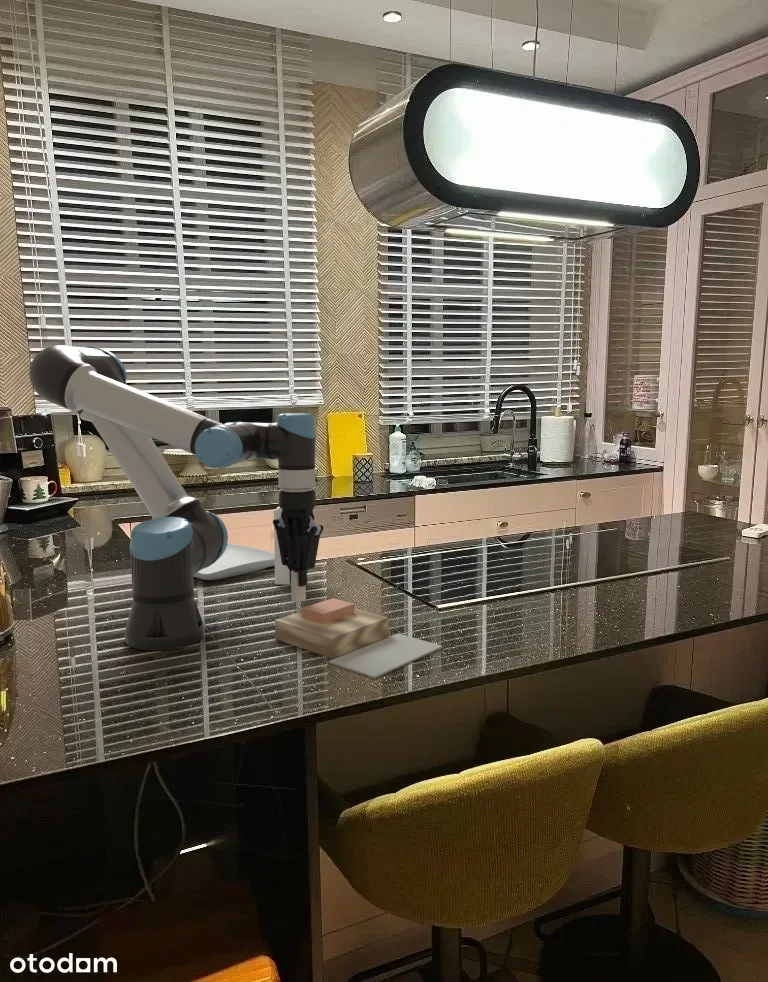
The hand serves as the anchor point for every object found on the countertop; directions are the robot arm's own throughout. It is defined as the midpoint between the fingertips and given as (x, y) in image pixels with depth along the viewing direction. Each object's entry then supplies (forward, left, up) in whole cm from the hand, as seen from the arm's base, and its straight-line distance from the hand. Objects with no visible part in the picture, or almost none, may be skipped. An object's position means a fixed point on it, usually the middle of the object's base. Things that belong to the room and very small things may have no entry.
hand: (298, 600), depth 157 cm
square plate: (+19, +52, -6) cm, 56 cm away
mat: (-1, -25, -5) cm, 26 cm away
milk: (+22, +27, -6) cm, 35 cm away
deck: (-1, -11, -5) cm, 12 cm away
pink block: (0, -9, -1) cm, 9 cm away
